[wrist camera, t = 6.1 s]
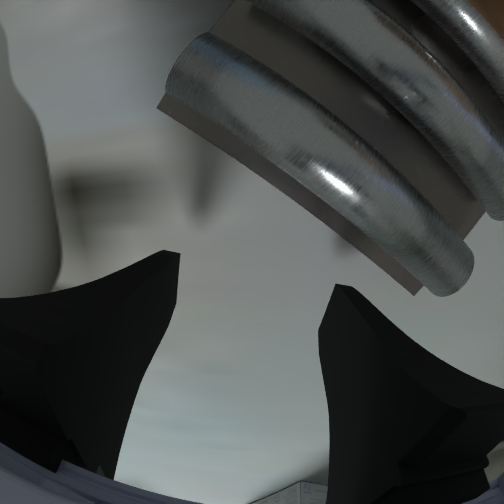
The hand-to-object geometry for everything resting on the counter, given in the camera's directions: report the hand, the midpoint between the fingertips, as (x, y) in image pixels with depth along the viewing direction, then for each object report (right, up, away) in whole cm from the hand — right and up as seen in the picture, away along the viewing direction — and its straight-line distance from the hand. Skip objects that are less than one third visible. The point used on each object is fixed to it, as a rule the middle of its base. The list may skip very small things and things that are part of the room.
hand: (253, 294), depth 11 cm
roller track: (+9, +12, -3) cm, 15 cm away
